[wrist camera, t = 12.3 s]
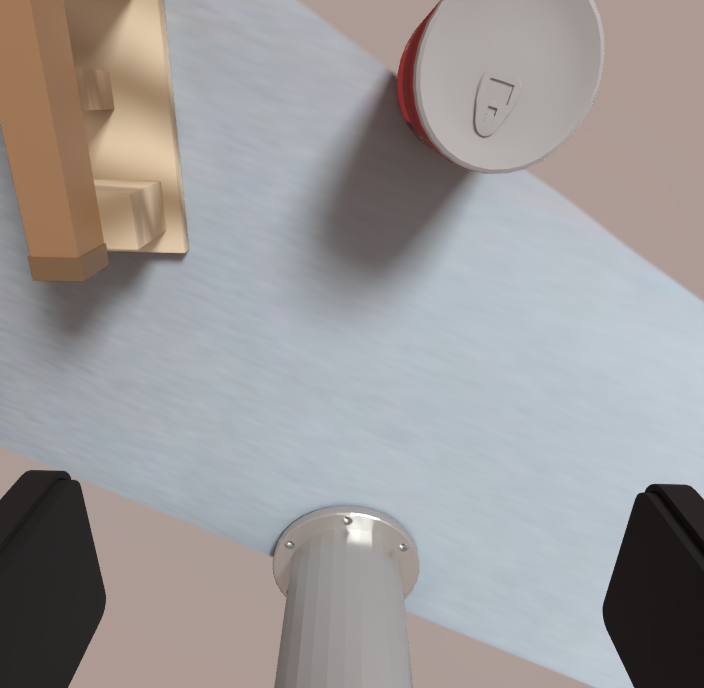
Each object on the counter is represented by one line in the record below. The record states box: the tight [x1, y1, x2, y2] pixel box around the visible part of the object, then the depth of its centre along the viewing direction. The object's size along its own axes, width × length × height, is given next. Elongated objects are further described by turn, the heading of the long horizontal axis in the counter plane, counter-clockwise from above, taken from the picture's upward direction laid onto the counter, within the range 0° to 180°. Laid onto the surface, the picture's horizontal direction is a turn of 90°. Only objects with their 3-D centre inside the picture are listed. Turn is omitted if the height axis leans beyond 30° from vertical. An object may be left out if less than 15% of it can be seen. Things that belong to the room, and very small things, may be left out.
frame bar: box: [0, 0, 110, 282], centre depth 25 cm, size 18×3×3 cm, turn 179°
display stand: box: [63, 0, 189, 253], centre depth 29 cm, size 19×8×6 cm, turn 179°
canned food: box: [397, 0, 604, 174], centre depth 27 cm, size 8×8×11 cm
